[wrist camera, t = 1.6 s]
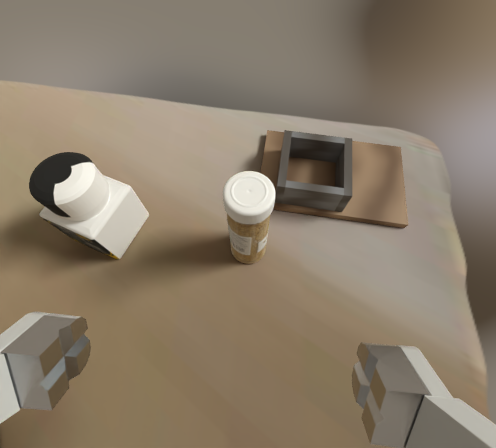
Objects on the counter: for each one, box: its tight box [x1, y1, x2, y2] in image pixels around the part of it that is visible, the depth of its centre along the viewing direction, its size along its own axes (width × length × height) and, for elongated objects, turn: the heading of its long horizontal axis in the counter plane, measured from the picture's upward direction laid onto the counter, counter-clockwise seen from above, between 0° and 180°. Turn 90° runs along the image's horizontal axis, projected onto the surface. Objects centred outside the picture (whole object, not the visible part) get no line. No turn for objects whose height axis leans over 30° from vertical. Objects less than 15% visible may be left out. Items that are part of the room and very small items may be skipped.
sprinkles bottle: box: [223, 171, 275, 264], centre depth 30 cm, size 5×5×14 cm
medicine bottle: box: [29, 152, 149, 260], centre depth 31 cm, size 7×7×12 cm
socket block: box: [260, 130, 408, 228], centre depth 38 cm, size 20×13×5 cm, turn 81°
